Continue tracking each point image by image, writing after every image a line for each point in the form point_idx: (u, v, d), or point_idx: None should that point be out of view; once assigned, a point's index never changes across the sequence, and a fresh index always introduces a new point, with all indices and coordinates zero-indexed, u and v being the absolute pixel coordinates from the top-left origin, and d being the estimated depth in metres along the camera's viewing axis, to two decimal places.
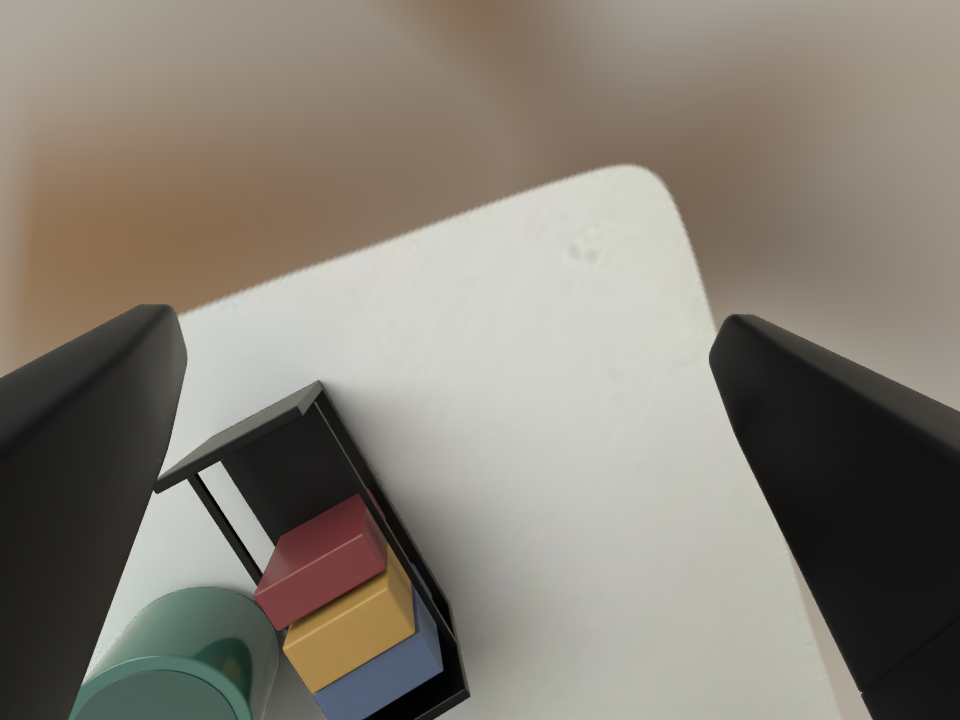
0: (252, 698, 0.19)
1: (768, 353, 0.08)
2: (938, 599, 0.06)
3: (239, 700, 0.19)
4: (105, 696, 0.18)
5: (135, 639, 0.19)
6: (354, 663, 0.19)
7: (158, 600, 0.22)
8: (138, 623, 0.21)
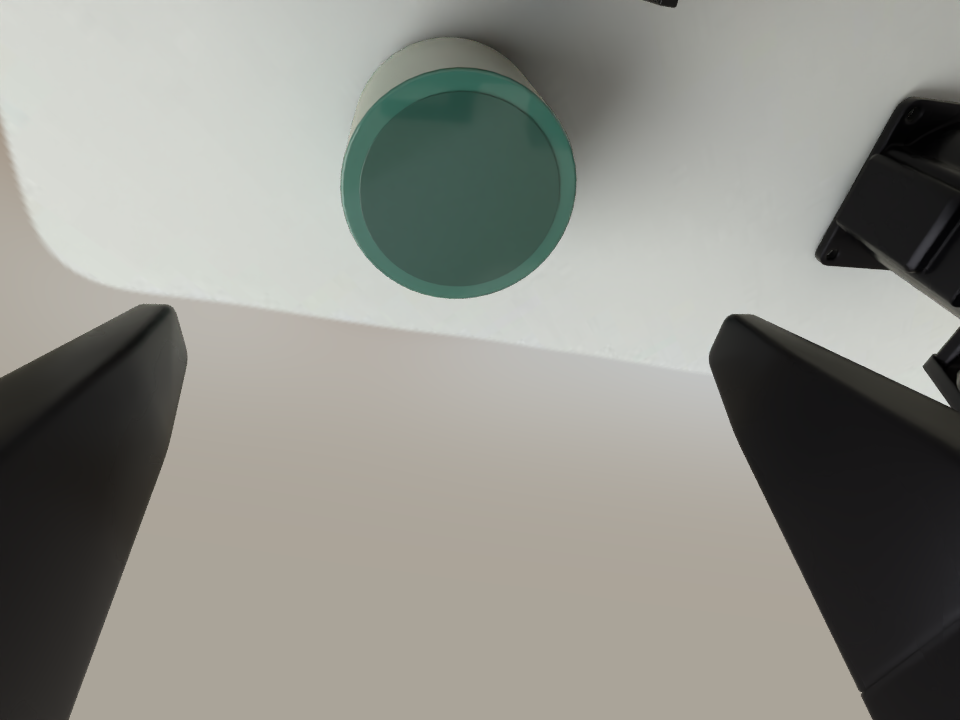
0: (497, 70, 0.13)
1: (768, 353, 0.08)
2: (937, 600, 0.06)
3: (482, 79, 0.13)
4: (371, 204, 0.15)
5: None
6: None
7: None
8: None
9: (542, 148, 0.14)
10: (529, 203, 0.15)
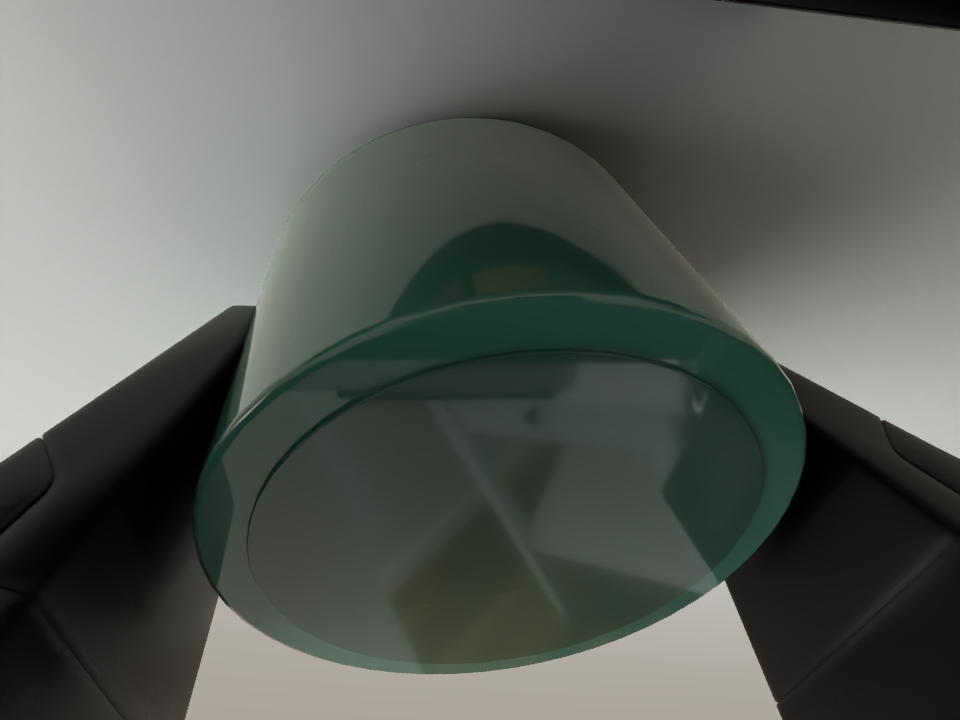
0: (631, 271, 0.04)
1: None
2: (843, 608, 0.06)
3: (593, 317, 0.04)
4: (285, 579, 0.06)
5: None
6: None
7: None
8: None
9: (737, 445, 0.05)
10: (676, 534, 0.06)
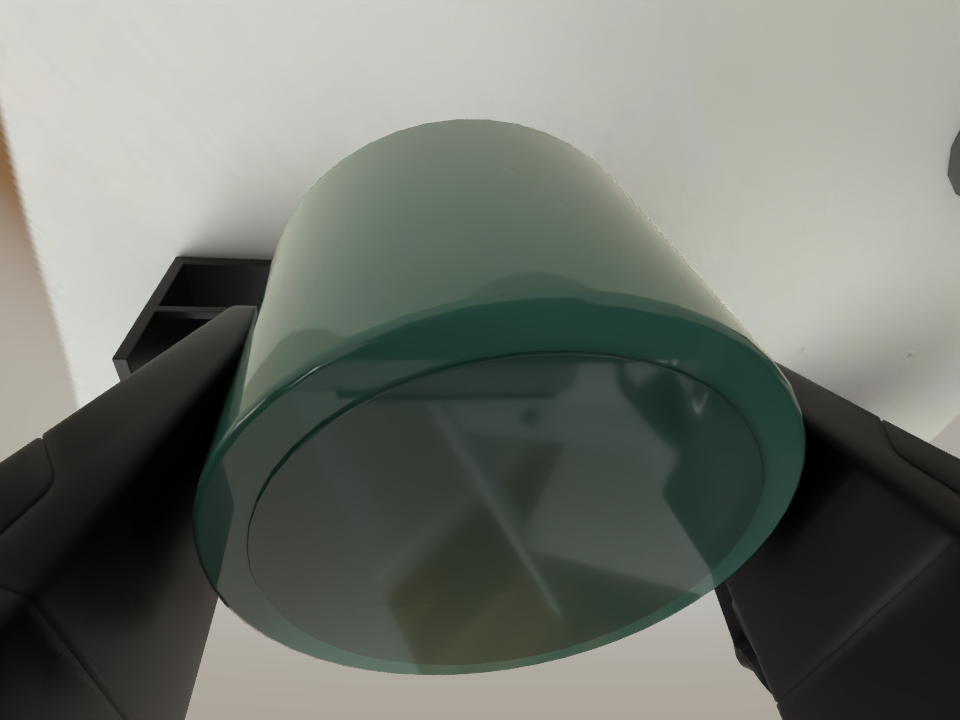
0: (630, 273, 0.04)
1: None
2: (843, 608, 0.06)
3: (593, 318, 0.04)
4: (286, 581, 0.06)
5: None
6: None
7: None
8: None
9: (735, 446, 0.05)
10: (677, 535, 0.06)
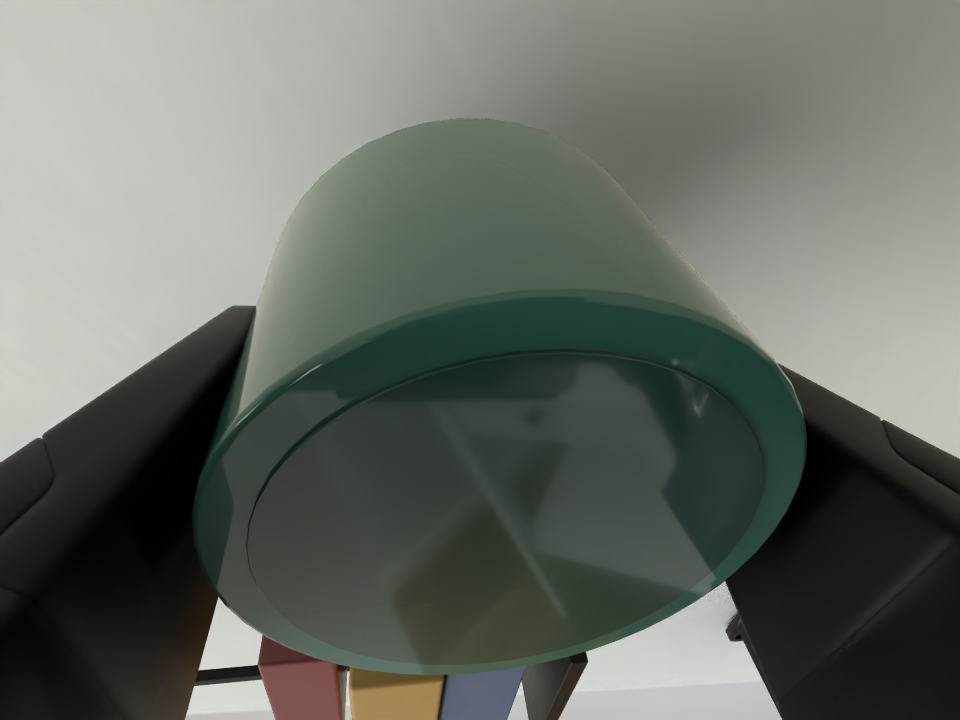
0: (631, 271, 0.04)
1: None
2: (842, 608, 0.06)
3: (593, 318, 0.04)
4: (285, 581, 0.06)
5: None
6: None
7: None
8: None
9: (736, 445, 0.05)
10: (677, 534, 0.06)
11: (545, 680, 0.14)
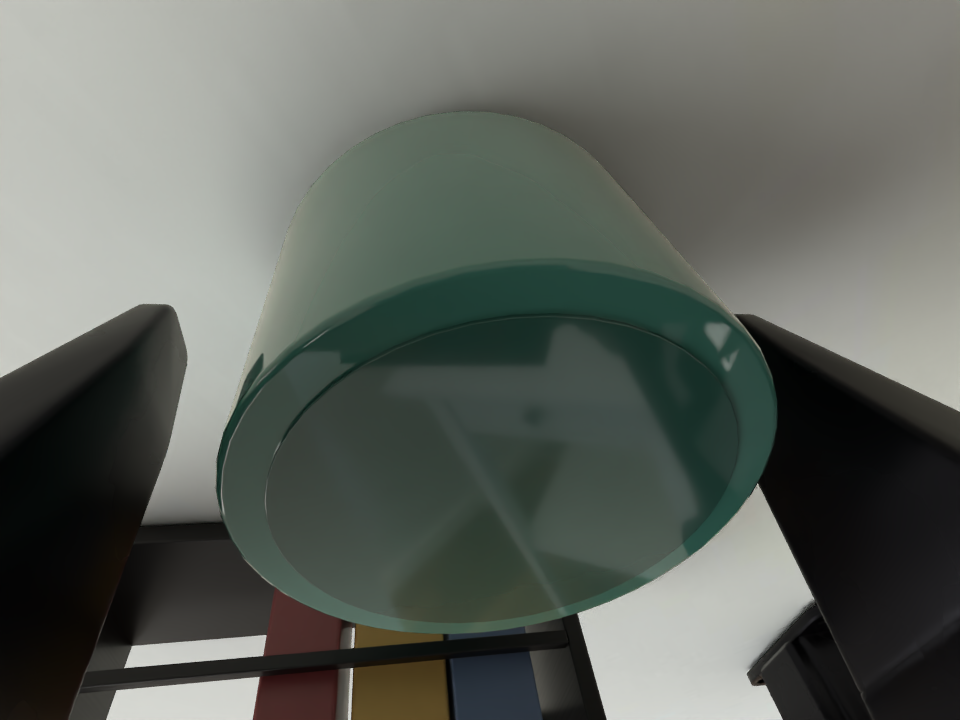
0: (613, 244, 0.05)
1: (768, 353, 0.08)
2: (937, 598, 0.06)
3: (578, 283, 0.05)
4: (299, 535, 0.06)
5: None
6: None
7: None
8: None
9: (711, 407, 0.06)
10: (660, 496, 0.07)
11: None
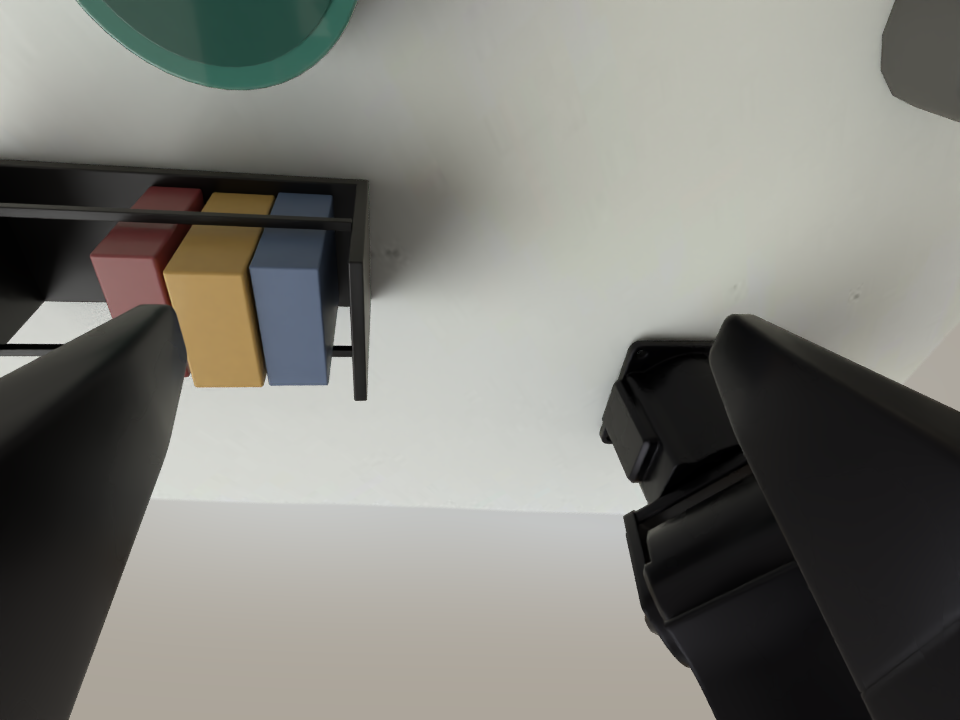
0: None
1: (768, 353, 0.08)
2: (936, 599, 0.06)
3: None
4: None
5: None
6: (247, 342, 0.16)
7: None
8: None
9: None
10: None
11: None
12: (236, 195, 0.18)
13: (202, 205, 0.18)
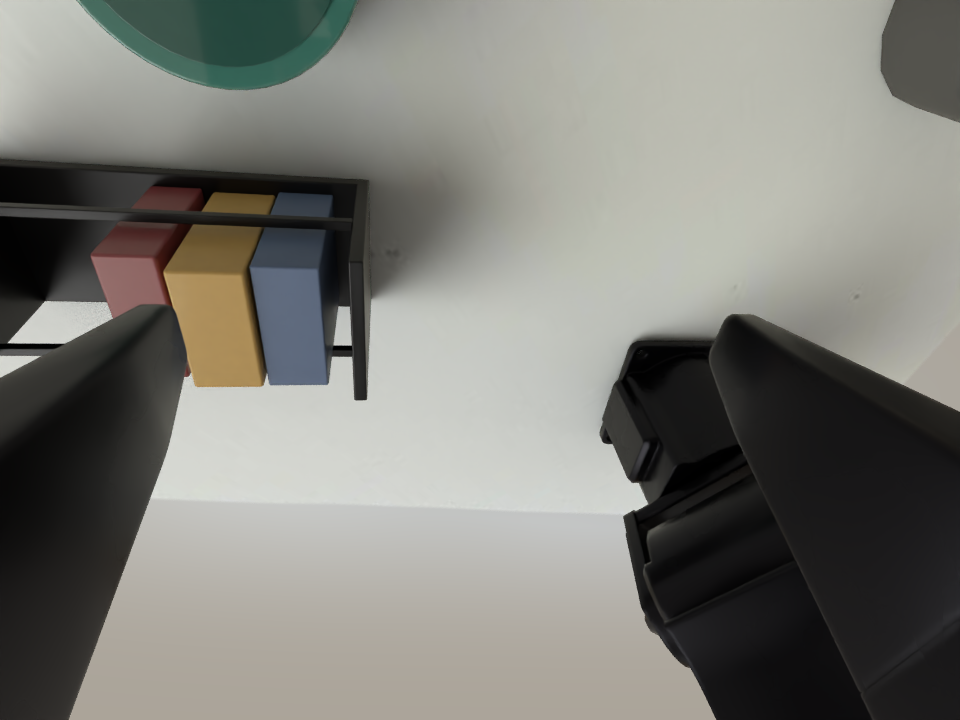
0: None
1: (768, 353, 0.08)
2: (938, 600, 0.06)
3: None
4: None
5: None
6: (247, 342, 0.16)
7: None
8: None
9: None
10: None
11: None
12: (236, 195, 0.18)
13: (202, 205, 0.18)
